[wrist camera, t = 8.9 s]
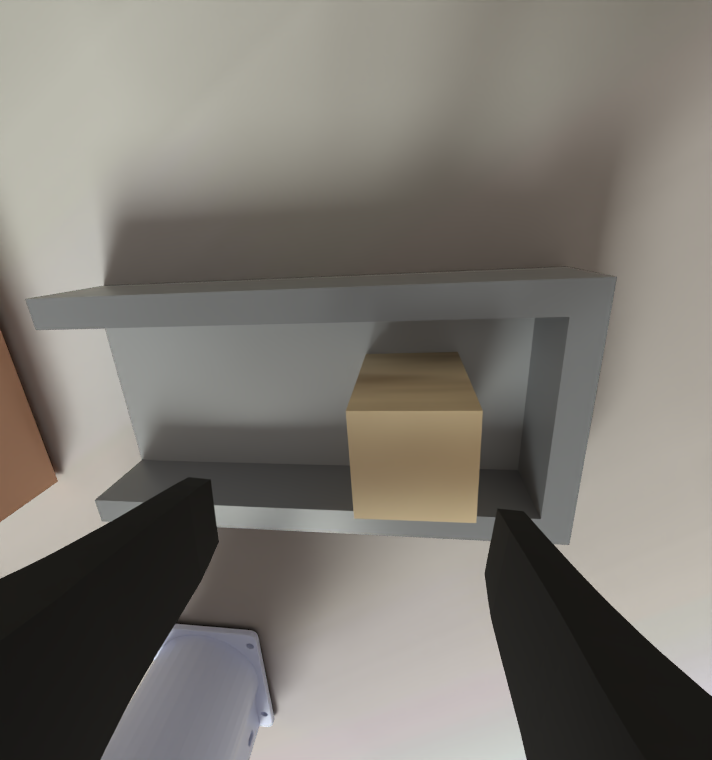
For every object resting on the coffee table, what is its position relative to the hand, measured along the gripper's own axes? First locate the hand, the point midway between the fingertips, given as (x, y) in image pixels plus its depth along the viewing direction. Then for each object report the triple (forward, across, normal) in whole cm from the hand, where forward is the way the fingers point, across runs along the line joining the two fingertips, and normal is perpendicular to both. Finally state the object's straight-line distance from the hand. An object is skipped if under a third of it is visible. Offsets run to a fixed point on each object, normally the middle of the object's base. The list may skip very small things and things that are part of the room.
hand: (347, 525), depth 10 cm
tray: (+9, +2, 0) cm, 10 cm away
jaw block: (+9, -2, 0) cm, 9 cm away
